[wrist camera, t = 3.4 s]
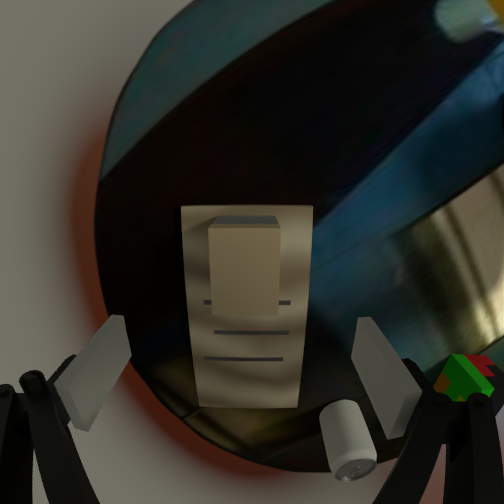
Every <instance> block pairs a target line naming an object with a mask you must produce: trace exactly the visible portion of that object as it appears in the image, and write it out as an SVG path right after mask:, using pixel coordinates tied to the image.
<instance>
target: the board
mask: <svg viewBox="0 0 504 504" xmlns="http://www.w3.org/2000/svg"><path fill="white" fill-rule="evenodd" d="M222 215H273V216H276V218H277V221H278V223H279V225H280V228H281V244H280V280H279V308H278V315H271V316H248V315H212V302H211V282H210V260H209V233H208V228H209V227H210V225H211V224H212V223H213V222H214V220H215V219H216V218H217V216H222ZM181 220H182V241H183V257H184V272H185V285H186V297H187V308H188V319H189V329H190V338H191V347H192V356H193V364H194V372H195V379H196V387H197V394H198V401H199V406H203V407H222V408H291V407H297V403H298V395H299V387H300V379H301V370H302V360H303V351H304V341H305V330H306V318H307V306H308V293H309V278H310V262H311V243H312V220H313V206H308V205H191V206H182V207H181Z"/></svg>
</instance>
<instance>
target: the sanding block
mask: <svg viewBox="0 0 504 504" xmlns="http://www.w3.org/2000/svg"><path fill="white" fill-rule="evenodd" d="M208 233H209V260H210V282H211V302H212V315H248V316H271V315H278V308H279V280H280V244H281V228H280V225H279V223H278V221H277V218H276V216H273V215H222V216H217V218H216V219H215V220H214V222H213V223H212V224H211V225H210V227H209V228H208Z"/></svg>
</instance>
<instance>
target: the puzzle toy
mask: <svg viewBox="0 0 504 504" xmlns="http://www.w3.org/2000/svg"><path fill="white" fill-rule="evenodd" d="M433 388H434V389H435V391H436V392H439V393H444V394H446V395H448V396H449V397H450V398H451V399H452V401H466V400H467V398H468V397H469V395H470V394H472V393H474V392H480V393H484V394H486V395H487V396H488V397H489V398H490V399H491V401H492V404H493V409H494V414H495V416H496V415H497V413H498V412H499V410H500V409H501V408H502V406H503V405H504V373H503V372H502V371H501V370H500V369H499V368H498V367H497V366H496V365H495V364H494V363H493V362H492V361H491V360H490V359H489V358H488V357H487V356H482V355H458V354H451V355H450V357H449V359H448V361H447V363H446V365H445V367H444V368H443V370H442V372H441V374H440V375H439V377H438V379H437V381H436V382H435V384H434V386H433Z"/></svg>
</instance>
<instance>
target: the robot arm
mask: <svg viewBox="0 0 504 504" xmlns="http://www.w3.org/2000/svg"><path fill="white" fill-rule="evenodd" d="M503 129H504V107H503ZM131 356H132V355H131V350H130V346H129V341H128V337H127V332H126V327H125V322H124V317H123V316H121V315H111V316H110V317H109V318H108V320H107V321H106V322H105V323H104V324H103V325H102V326H101V328H100V329H99V330H98V331H97V332H96V333H95V335H94V336H93V337H92V338H91V339H90V341H89V342H88V343H87V344H86V345H85V346H84V348H83V349H82V350H81V351H80V352H79V353H78V355H74V354H73V355H72V356H70V357H68V358H67V359H65V361H64V362H63V363H62V364H61V366H59V368H58V369H57V371H55V372H54V374H53V375H52V376H51V377H50V378H49V380H48V381H47V382H46V379H45V377H44V375H43V373H42V372H40V371H38V370H32V371H28V372H26V373H24V374H23V375H22V376H21V377H20V379H19V383H20V385H21V387H22V389H23V391H24V393H16V392H15V390H14V388H13V386H11V385H10V384H2V385H0V504H33V503H32V502H33V500H32V471H33V451H34V450H35V454H36V459H37V463H38V467H39V471H40V474H41V479H42V482H43V486H44V489H45V492H46V495H47V499H48V501H49V504H100V503H99V501H98V499H97V497H96V495H95V492H94V490H93V488H92V486H91V484H90V482H89V479H88V477H87V474H86V472H85V470H84V468H83V465H82V462H81V460H80V457H79V455H78V452H77V449H76V447H75V444H74V441H73V438H72V435H71V432H70V429H69V428H68V426H67V424H68V423H69V421H70V420H71V421H72V423H73V425H74V427H75V428H77V429H80V430H84V431H87V432H88V431H89V429H90V427H91V426H92V424H93V422H94V420H95V418H96V417H97V415H98V413H99V411H100V409H101V408H102V406H103V404H104V402H105V400H106V399H107V397H108V395H109V393H110V392H111V390H112V388H113V386H114V385H115V383H116V381H117V380H118V378H119V376H120V374H121V373H122V371H123V369H124V367H125V366H126V364H127V362H128V361H129V359H130V357H131ZM351 359H352V361H353V363H354V366H355V368H356V370H357V372H358V374H359V376H360V378H361V381H362V383H363V385H364V387H365V389H366V392H367V394H368V396H369V398H370V400H371V403H372V405H373V407H374V409H375V412H376V414H377V416H378V418H379V421H380V423H381V425H382V428H383V430H384V432H385V435H386V437H387V439H392V438H396V437H401V436H403V434H404V432H405V430H406V428H408V430H409V432H410V435H409V437H408V439H407V440H406V442H405V444H404V446H403V449H402V451H401V453H400V455H399V457H398V459H397V461H396V463H395V465H394V467H393V469H392V471H391V473H390V474H389V476H388V478H387V480H386V482H385V483H384V485H383V487H382V488H381V490H380V492H379V494H378V495H377V497H376V499H375V500H374V502H373V503H372V504H419V502H420V500H421V498H422V495H423V493H424V491H425V489H426V486H427V484H428V481H429V479H430V476H431V474H432V471H433V469H434V466H435V463H436V460H437V458H438V455H439V452H440V449H441V446H442V444H446V469H445V485H444V496H443V504H504V477H503V476H504V475H503V464H502V456H501V448H500V442H499V436H498V430H497V424H496V419H495V414H494V409H493V404H492V401H491V399H490V398H489V397H488V396H487V395H486V394H484V393H480V392H474V393H472V394H470V395H469V397H468V398H467V400H466V401H452V399H451V398H450V397H449V396H448V395H446V394H444V393H439V392H436V391H435V389H434V388H433V386H432V385H431V384H430V382H429V381H428V379H427V378H426V377H425V376H424V374H423V373H422V371H420V368H419V367H418V366H417V364H416V363H415V362H413V361H412V360H410V359H409V358H406V359H400V357H399V356H398V355H397V353H396V352H395V350H394V349H393V347H392V346H391V344H390V343H389V342H388V340H387V339H386V337H385V336H384V335H383V333H382V332H381V330H380V329H379V328H378V326H377V325H376V323H375V322H374V321H373V319H372V318H371V317H358V321H357V327H356V333H355V339H354V344H353V350H352V355H351Z"/></svg>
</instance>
